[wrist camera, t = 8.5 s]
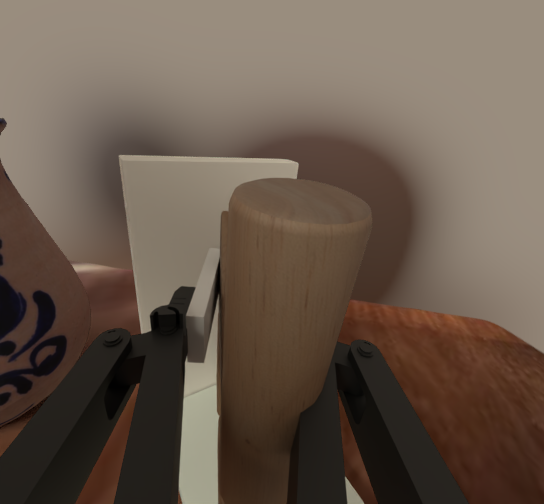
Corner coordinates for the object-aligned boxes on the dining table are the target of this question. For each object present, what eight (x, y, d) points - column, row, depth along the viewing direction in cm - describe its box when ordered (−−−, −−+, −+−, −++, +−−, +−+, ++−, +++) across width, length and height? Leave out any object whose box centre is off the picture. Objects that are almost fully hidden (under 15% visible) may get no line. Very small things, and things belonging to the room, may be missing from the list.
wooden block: (260, 371, 23) (291, 144, 15) (291, 552, 14) (419, 228, 6) (215, 375, 23) (220, 137, 14) (217, 570, 13) (234, 223, 5)
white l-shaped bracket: (150, 401, 28) (118, 155, 18) (260, 357, 35) (286, 159, 24) (241, 777, 13) (427, 615, 2) (408, 570, 20) (655, 282, 9)
